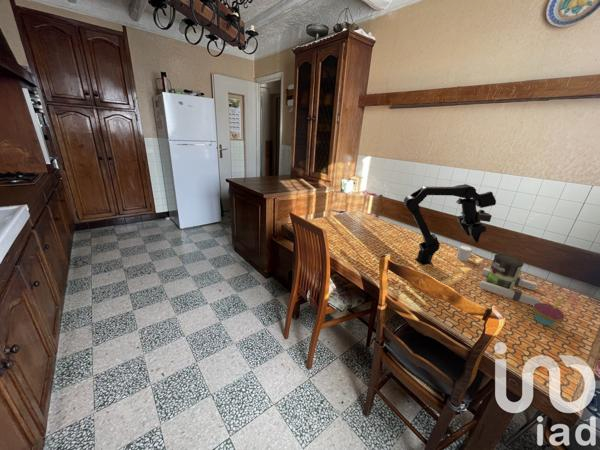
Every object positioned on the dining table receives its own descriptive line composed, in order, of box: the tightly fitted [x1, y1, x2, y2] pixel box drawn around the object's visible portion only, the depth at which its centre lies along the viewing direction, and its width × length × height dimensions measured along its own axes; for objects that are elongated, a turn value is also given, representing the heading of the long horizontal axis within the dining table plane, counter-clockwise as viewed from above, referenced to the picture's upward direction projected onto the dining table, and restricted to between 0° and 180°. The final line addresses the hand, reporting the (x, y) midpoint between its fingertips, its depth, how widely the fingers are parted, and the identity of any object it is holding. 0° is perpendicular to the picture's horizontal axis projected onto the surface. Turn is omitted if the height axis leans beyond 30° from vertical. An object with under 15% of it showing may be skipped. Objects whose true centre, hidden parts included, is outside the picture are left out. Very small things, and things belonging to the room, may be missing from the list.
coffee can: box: [484, 253, 525, 290], centre depth 112 cm, size 10×10×14 cm
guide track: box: [478, 267, 541, 306], centre depth 112 cm, size 20×18×4 cm
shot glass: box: [456, 244, 474, 262], centre depth 137 cm, size 7×7×7 cm
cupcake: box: [531, 296, 565, 327], centre depth 90 cm, size 9×8×12 cm
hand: (472, 238), depth 124 cm, fingers open, 9 cm apart
